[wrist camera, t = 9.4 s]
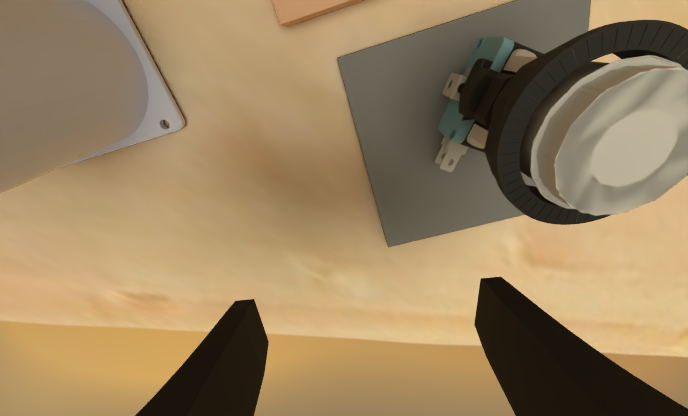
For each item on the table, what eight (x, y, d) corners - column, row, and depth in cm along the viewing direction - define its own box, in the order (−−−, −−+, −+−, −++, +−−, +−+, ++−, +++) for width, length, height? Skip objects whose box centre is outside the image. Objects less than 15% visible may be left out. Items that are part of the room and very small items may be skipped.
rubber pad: (386, 242, 21) (387, 247, 21) (337, 57, 16) (337, 58, 15) (567, 198, 20) (573, 202, 19) (583, -22, 14) (592, -24, 14)
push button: (476, 173, 18) (604, 295, 9) (394, 146, 17) (450, 252, 8) (544, 56, 15) (827, 72, 6) (449, 15, 14) (625, -31, 5)
